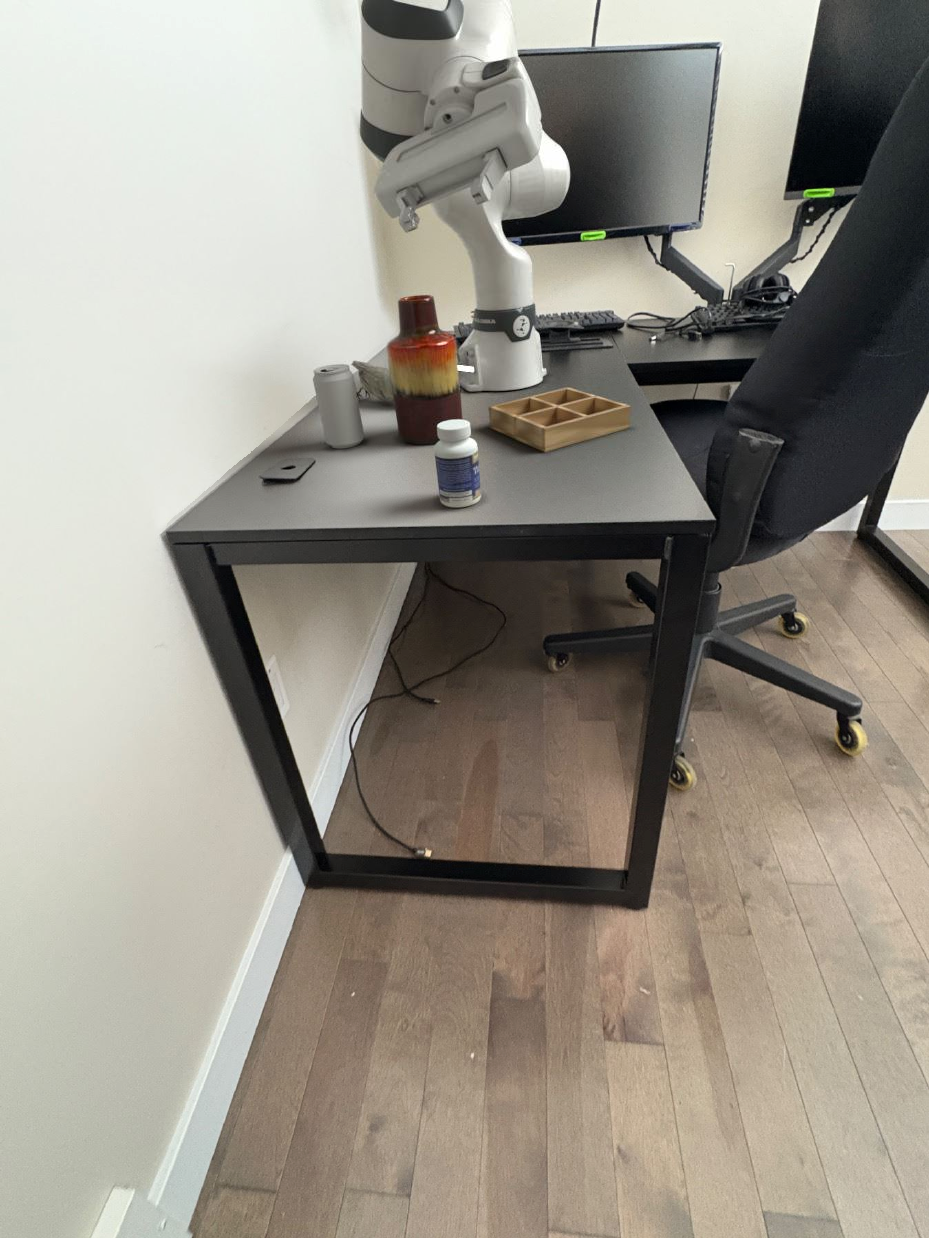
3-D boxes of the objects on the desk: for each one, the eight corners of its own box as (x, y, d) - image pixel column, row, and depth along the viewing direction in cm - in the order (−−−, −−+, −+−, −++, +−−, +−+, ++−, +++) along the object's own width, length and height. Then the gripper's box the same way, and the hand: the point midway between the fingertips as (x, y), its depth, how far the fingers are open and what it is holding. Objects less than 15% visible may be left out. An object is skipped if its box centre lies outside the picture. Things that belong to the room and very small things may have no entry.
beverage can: (319, 446, 100) (302, 370, 94) (349, 434, 104) (335, 361, 97) (342, 452, 97) (326, 374, 90) (373, 440, 100) (359, 364, 93)
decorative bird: (406, 411, 113) (401, 370, 108) (350, 402, 122) (343, 364, 118) (426, 404, 116) (421, 363, 112) (370, 396, 125) (363, 358, 121)
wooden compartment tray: (489, 427, 101) (488, 406, 99) (567, 407, 106) (567, 387, 104) (544, 452, 89) (544, 429, 87) (629, 428, 94) (630, 405, 92)
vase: (474, 426, 102) (464, 291, 90) (442, 447, 94) (427, 303, 83) (421, 422, 106) (405, 293, 95) (386, 442, 99) (364, 304, 87)
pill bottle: (485, 505, 75) (479, 427, 70) (442, 511, 75) (434, 433, 69) (477, 489, 80) (471, 415, 74) (437, 495, 79) (428, 420, 74)
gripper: (376, 129, 72) (351, 219, 68) (532, 48, 61) (512, 149, 58) (406, 176, 77) (384, 262, 74) (555, 109, 67) (537, 206, 63)
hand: (442, 212), depth 66 cm, fingers open, 8 cm apart
